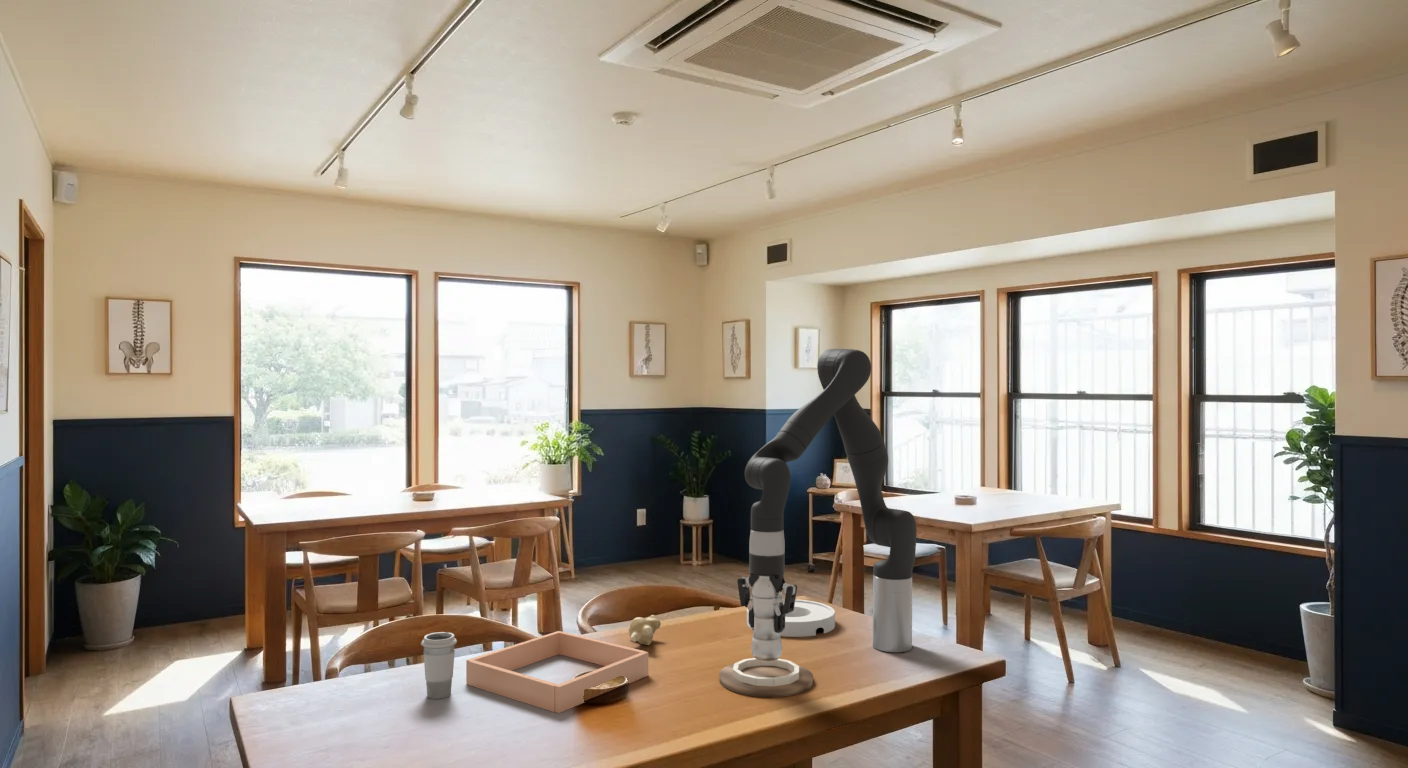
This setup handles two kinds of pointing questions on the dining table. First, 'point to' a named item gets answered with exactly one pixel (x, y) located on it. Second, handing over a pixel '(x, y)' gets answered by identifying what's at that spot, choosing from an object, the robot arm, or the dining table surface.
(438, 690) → the cup
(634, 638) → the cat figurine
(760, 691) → the round tan coaster
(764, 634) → the plastic bottle
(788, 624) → the white round disc base
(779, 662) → the ring
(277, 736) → the dining table surface
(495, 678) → the peach open square frame
